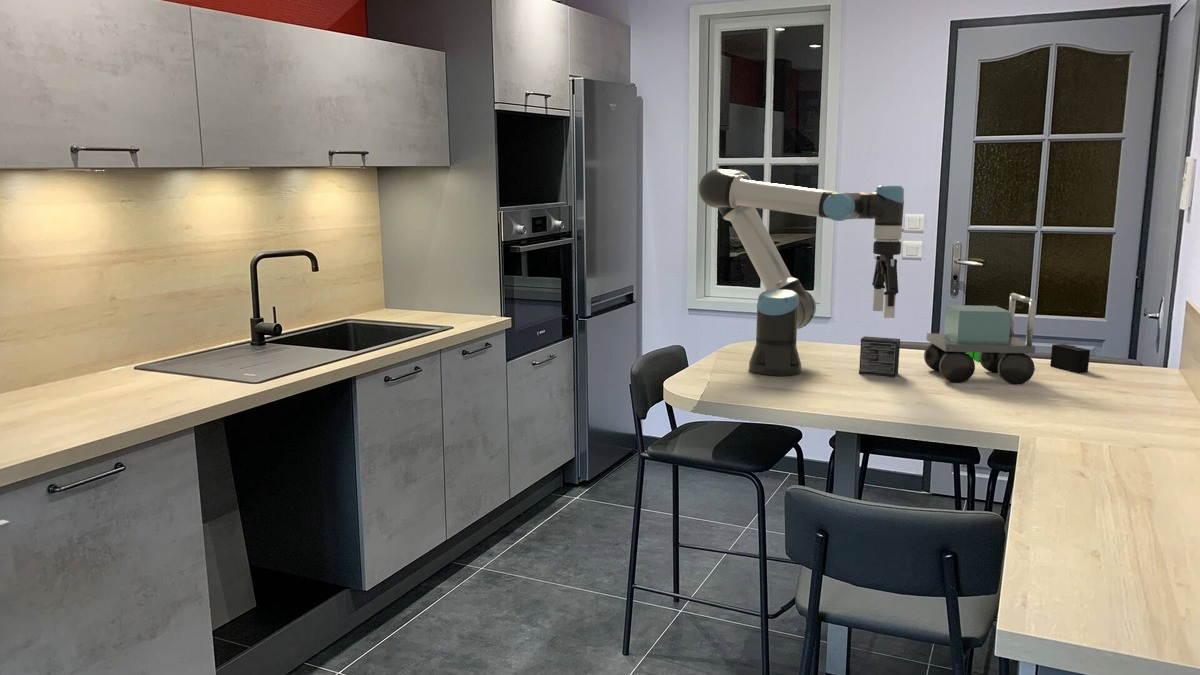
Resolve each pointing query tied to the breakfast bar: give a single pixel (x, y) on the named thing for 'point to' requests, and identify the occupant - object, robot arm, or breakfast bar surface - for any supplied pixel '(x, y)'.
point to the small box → (879, 356)
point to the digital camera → (1070, 358)
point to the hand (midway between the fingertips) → (883, 314)
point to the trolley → (982, 343)
